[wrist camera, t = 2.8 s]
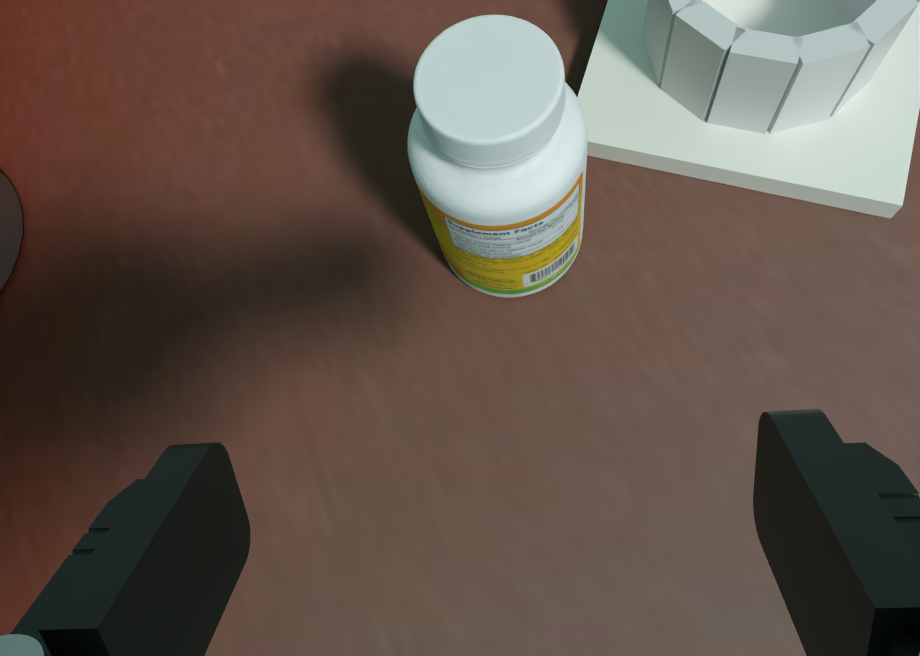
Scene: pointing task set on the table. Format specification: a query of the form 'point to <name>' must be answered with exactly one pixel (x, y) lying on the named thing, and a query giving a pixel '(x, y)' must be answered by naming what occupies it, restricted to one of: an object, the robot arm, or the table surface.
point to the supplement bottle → (499, 154)
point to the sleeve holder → (761, 95)
